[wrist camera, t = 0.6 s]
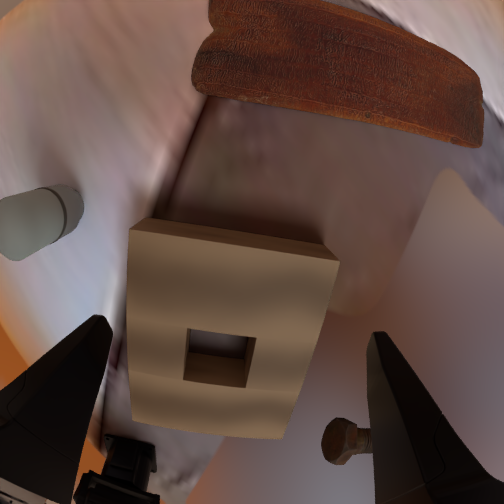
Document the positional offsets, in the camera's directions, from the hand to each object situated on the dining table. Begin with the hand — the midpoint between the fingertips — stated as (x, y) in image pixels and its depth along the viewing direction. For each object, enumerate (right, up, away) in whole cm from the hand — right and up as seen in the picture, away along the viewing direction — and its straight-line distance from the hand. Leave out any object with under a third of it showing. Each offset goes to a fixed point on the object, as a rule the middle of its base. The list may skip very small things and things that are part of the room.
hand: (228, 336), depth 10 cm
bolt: (+16, -19, +23) cm, 34 cm away
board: (-2, -4, +17) cm, 17 cm away
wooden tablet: (+10, +17, +11) cm, 23 cm away
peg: (-14, +6, +13) cm, 20 cm away
